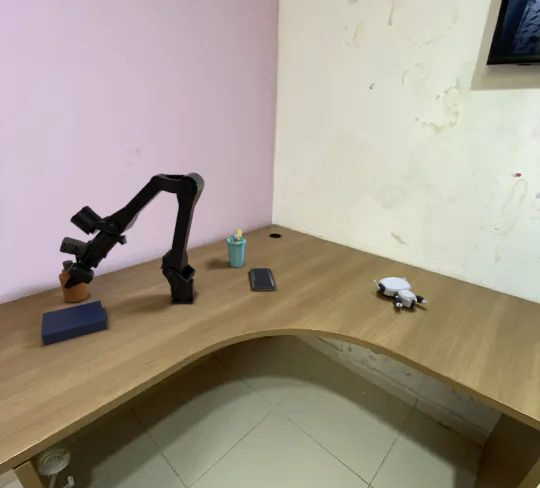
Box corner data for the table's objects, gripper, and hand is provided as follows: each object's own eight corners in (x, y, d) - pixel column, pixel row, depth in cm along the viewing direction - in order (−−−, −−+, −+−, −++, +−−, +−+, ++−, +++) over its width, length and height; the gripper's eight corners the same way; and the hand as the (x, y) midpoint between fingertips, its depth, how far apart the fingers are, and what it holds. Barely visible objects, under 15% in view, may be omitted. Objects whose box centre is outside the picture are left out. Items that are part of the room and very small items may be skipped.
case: (104, 308, 92) (102, 299, 91) (109, 328, 84) (107, 319, 82) (45, 322, 85) (42, 313, 84) (44, 345, 77) (41, 335, 75)
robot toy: (428, 310, 100) (400, 285, 112) (432, 299, 98) (403, 274, 110) (394, 314, 97) (370, 288, 110) (398, 303, 95) (373, 277, 107)
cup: (245, 273, 116) (245, 236, 110) (224, 273, 116) (223, 235, 110) (246, 258, 129) (247, 224, 122) (228, 257, 129) (227, 223, 122)
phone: (269, 268, 119) (275, 287, 105) (269, 270, 119) (275, 290, 106) (249, 268, 118) (252, 287, 104) (249, 271, 118) (252, 290, 105)
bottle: (91, 291, 99) (83, 257, 94) (81, 302, 94) (72, 266, 88) (72, 291, 99) (62, 257, 94) (60, 302, 93) (50, 266, 88)
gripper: (80, 219, 96) (48, 255, 97) (68, 240, 80) (30, 283, 81) (113, 240, 102) (82, 274, 103) (107, 263, 86) (71, 303, 87)
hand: (67, 282), depth 94 cm, fingers closed on bottle, 6 cm apart
